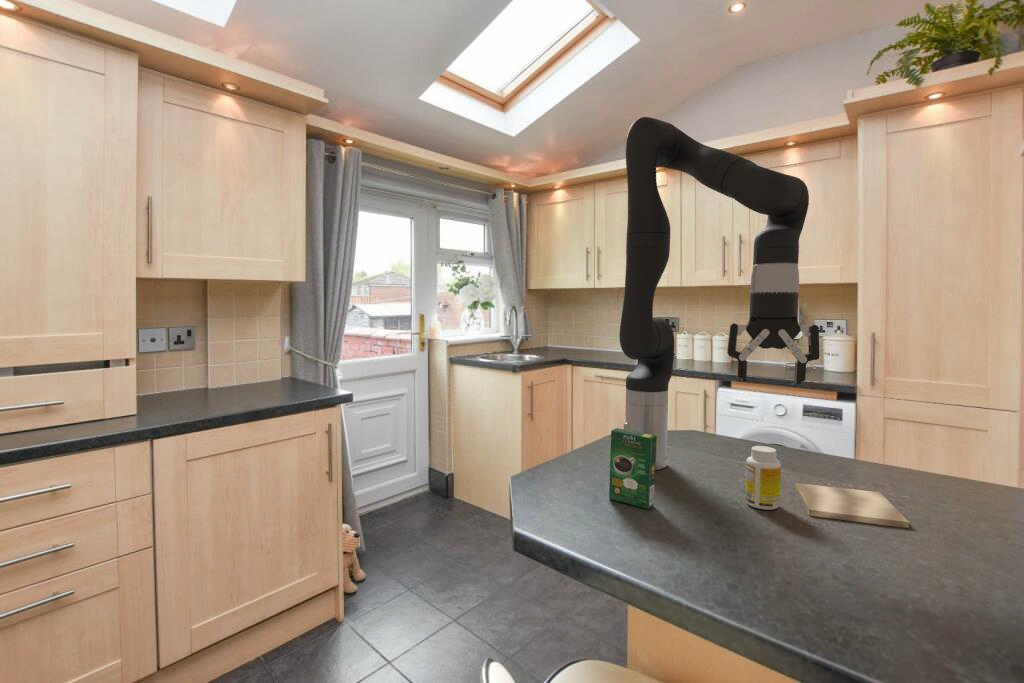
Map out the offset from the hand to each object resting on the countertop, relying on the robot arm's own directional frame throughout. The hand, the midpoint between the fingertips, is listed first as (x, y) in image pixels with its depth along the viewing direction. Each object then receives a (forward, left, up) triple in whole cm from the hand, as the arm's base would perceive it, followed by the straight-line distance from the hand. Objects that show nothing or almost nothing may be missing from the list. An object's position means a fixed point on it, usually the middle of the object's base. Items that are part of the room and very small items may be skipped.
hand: (770, 382), depth 88 cm
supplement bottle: (-1, -1, -22) cm, 22 cm away
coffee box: (-23, -8, -22) cm, 33 cm away
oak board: (+13, +4, -22) cm, 26 cm away
